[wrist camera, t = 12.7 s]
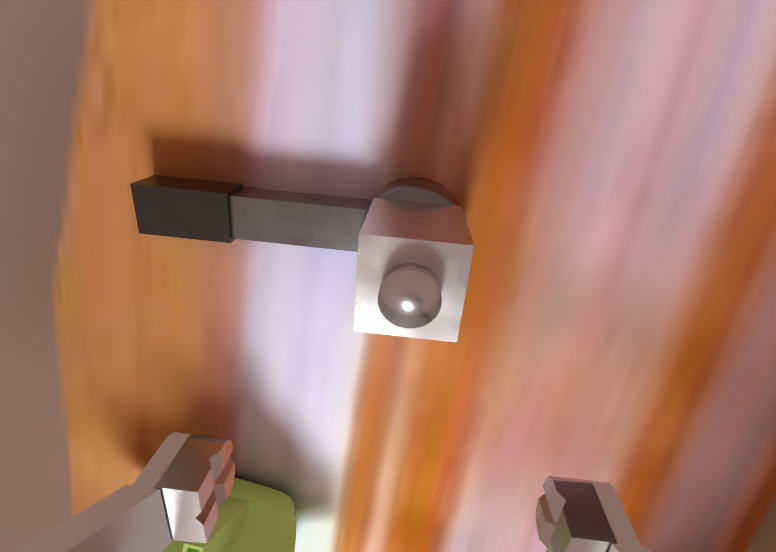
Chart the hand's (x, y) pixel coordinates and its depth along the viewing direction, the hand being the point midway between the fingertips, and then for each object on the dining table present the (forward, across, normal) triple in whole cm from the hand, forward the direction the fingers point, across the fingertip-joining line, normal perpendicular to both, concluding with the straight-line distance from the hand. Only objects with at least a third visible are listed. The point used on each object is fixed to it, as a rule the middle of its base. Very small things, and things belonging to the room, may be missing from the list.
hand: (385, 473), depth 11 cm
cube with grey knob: (+16, 0, 0) cm, 16 cm away
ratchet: (+19, +7, -1) cm, 20 cm away
